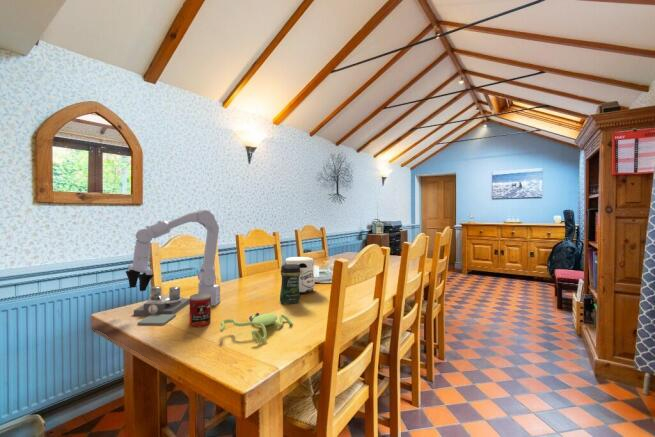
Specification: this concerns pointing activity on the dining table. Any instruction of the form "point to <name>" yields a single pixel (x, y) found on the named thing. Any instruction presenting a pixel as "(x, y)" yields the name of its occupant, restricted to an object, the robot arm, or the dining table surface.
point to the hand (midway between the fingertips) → (137, 289)
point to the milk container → (304, 273)
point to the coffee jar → (290, 284)
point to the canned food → (200, 309)
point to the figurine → (259, 323)
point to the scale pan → (165, 299)
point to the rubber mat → (157, 319)
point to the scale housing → (161, 307)
